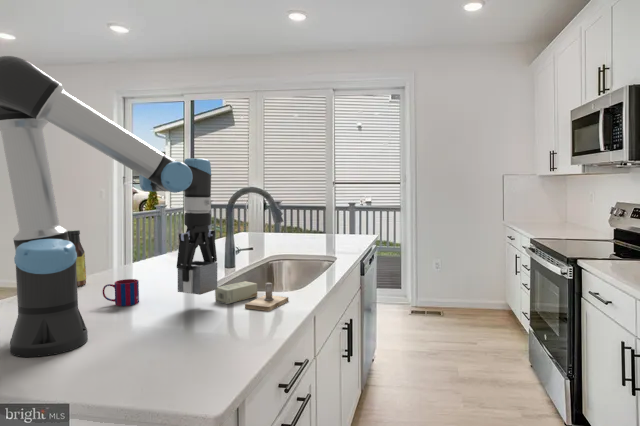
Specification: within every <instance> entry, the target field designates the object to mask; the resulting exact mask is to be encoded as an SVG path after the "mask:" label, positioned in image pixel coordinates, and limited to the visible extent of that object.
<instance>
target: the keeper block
mask: <svg viewBox="0 0 640 426" xmlns="http://www.w3.org/2000/svg"><path fill="white" fill-rule="evenodd" d="M264 289H265V295H263V296H260V297H258V298H256V299H253V300H251V301H248V302H247V303H245V304H244V308H245V309H249V310H256V311H263V312H264V311H265V312H266V311H267V312H271V311H272V310H274V309H276V308H278V307H279V306H282V305H283V304H286V303H288V302H289V297H288V296H280V295H279V296H278V295H273V282H265V287H264Z"/></svg>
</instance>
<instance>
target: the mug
mask: <svg viewBox="0 0 640 426" xmlns="http://www.w3.org/2000/svg"><path fill="white" fill-rule="evenodd" d="M139 281H140V280H139V279H136V278H126V279H119V280H116V281H114V284H111V283H109V284H108V283H107V284H105V285H104V286H103V288H102V296H103V298H104V299H105V300H107V301H110V302H114V303H115V306H117V307H129V306H135V305H137V304H139V303H140V288H139V287H140V286H139ZM107 287H113V288H114V298H113V299H112V298H109V297H107V295H106V294H105V290H106V288H107Z"/></svg>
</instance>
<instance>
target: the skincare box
mask: <svg viewBox="0 0 640 426" xmlns="http://www.w3.org/2000/svg"><path fill="white" fill-rule="evenodd" d="M214 296H215V297H214V300H215V302H217V303H221V304H226V305H229V304H233V303H236V302H240V301H244V300H247V299H248V300H249V299H252V298H256V297H258V283H256V282H251V281H246V280H245V281H241V282H235V283H231V284H226V285H222V286H217V289H216V290H214Z"/></svg>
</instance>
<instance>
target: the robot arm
mask: <svg viewBox="0 0 640 426" xmlns="http://www.w3.org/2000/svg"><path fill="white" fill-rule="evenodd" d="M48 123H51V124H53V125H54V126H56V127H57V128H59V129H61V130H63V131H64V132H66V133H68V134H69V135H71V136H73V137H75V138H76V139H78V140H80V141H82V142H83V143H85V144H87V145H88V146H91V147H92V148H93V149H96V150H97V151H98V152H100V153H103V154H104V155H105V156H108V157H109V158H111V159H112V160H114V161H117V162H118V163H120V164H121V165H123V166H125V167H127V168H128V169H130V170H132V171H133V172H135V173H136V174H138V180H139V187H140V189H141V190H142V191H144V192H152V193H153V192H166V193H167V192H168V193H169V192H170V193H174V194H176V193H180V192H183V193H184V195H183V210H184V211H185V213H184V215H183V216H184V217H183V218H184V219H183V220H184V222H183V224H184V226H186V230H185V232H183V233H182V232H180V233H178V241H179V242H178V252H177V260H176V269H177V270H178V269H180V270H182V280H183V292H185V294H191V293H193V270H190V269H191V265H192V261H194V256H195V253H196V250H197V248H198V247H199V249H200V253H201V256H202V258H203V259H202V261H207V262H217V261H218V257H217V247H216V238H215V237H216V230H215V229H210V228H209V226H211V224H212V213H211V212H210V211H212V207H211V206H212V202H211V201H212V198H211V196H212V167H211V161H210V160H209V159H206V158H198V157H197V158H194V157H193V158H192V157H190V158H185V159H184V160H183V161H184V162H182V161H179V160H175V159H173V158H172V157H170V156H168V155H166V154H164V153H163V152H162V151H160V150H159V149H157V148H156V147H154V146H152V145H150V144H149V143H148V142H146V141H144V140H143V139H141V137H138V136H137V135H135V134H133V133H132V132H130V131H129V130H127V129H125V128H123V127H122V126H120V125H119V124H117V123H116V122H114V121H113V120H111V119H109V118H108V117H106V116H105V115H103V114H102V113H100V112H98V111H96V110H95V109H94V108H92V107H90V106H89V105H87V104H85V103H84V102H82V101H81V100H79V99H77V97H74V96H72V95H71V94H69V93H68V92H67V91H65V89H64V86H63V84H62V83H61V82H59V81H57V80H55V78H53V77H51V76H50V75H48V74H47V73H46V72H44V71H43V70H41V69H40V68H38V67H37V66H35V65H34V64H33V63H31V62H30V61H28V60H26V59H24V58H21V57H18V56H13V55H3V56H2V55H1V56H0V134H1V139H2V145H3V150H4V154H5V155H4V156H5V161H6V166H7V173H8V177H9V184H10V187H11V188H10V189H11V193H12V199H13V204H14V210H15V215H16V220H17V225H18V232H17V233H16V234H15V235H14V237H13V238H12V240H13V244H14V250H15V254H14V264H15V277H16V298H17V318H16V321H15V324H14V328H13V331H12V334H11V338H10V341H9V350H10V351H9V352H10V354H11V355H13V356H17V357H22V358H35V357H44V356H52V355H56V354H62V353H65V352H69V351H72V350H74V349H77V348H79V347H81V346H83V345H85V344H86V343H87V342H88V340H89V336H88V335H89V333H88V332H89V331H88V328H87V326H86V324H85V320H84V318H83V316H82V314H81V312H80V310H79V302H78V301H79V300H78V299H79V297H78V286H77V269H76V259H77V253H76V250H75V245H74V244H73V243H72V242H70V241H69V237H68V231H69V230H68V229H67V228H65V227H63V226H62V225H61V224H60V220H59V215H58V209H57V204H56V203H57V202H56V198H55V190H54V185H53V180H52V175H51V174H52V173H51V169H50V164H49V162H50V161H49V157H48V151H47V146H46V141H45V140H46V139H45V134H44V128H45V127H46V125H47V124H48ZM181 264H182V265H181ZM183 292H182V293H183Z"/></svg>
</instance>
